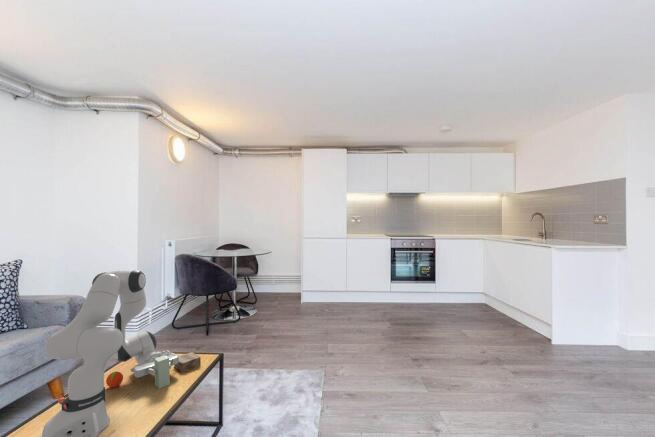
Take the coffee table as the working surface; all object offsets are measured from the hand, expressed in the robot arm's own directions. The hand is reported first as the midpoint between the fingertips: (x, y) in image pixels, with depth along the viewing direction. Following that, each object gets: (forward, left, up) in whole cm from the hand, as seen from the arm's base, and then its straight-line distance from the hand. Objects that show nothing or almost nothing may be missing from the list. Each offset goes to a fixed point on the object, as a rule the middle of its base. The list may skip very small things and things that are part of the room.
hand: (162, 369), depth 153 cm
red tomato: (-16, +17, -8) cm, 25 cm away
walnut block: (+17, +11, -8) cm, 22 cm away
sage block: (0, +1, -8) cm, 8 cm away
